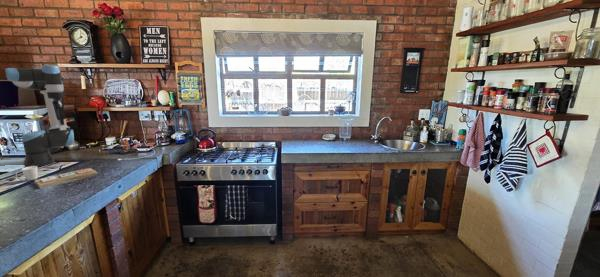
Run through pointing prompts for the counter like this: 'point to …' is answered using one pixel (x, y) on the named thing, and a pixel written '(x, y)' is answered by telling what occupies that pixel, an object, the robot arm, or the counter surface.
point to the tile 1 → (48, 179)
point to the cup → (29, 173)
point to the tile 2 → (66, 175)
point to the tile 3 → (83, 171)
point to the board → (65, 179)
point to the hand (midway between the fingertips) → (63, 129)
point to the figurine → (126, 148)
